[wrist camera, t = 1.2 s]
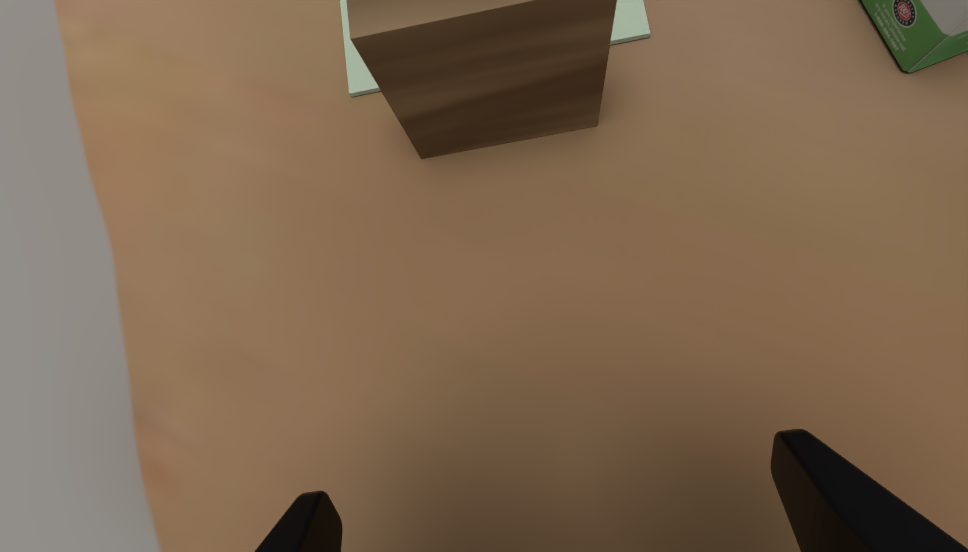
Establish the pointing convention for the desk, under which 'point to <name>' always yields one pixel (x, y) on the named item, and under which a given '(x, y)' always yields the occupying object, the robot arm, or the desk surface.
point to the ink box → (921, 29)
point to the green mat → (625, 28)
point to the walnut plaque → (485, 67)
